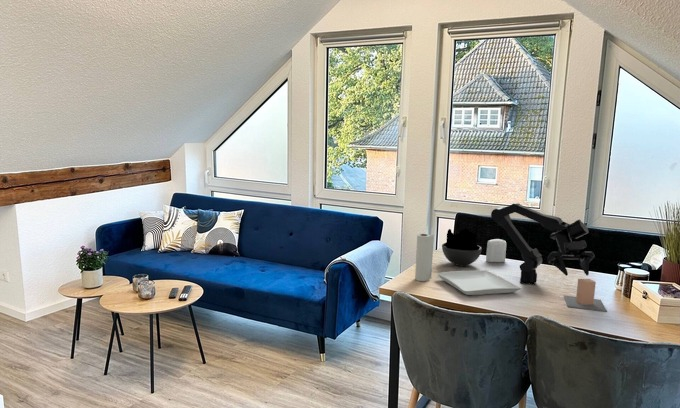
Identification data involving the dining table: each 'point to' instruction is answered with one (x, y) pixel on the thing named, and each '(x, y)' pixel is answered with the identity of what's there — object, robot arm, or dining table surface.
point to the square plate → (478, 282)
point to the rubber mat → (573, 304)
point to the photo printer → (496, 250)
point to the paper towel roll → (424, 257)
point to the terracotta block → (585, 291)
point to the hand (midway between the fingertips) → (577, 275)
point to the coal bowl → (461, 248)
